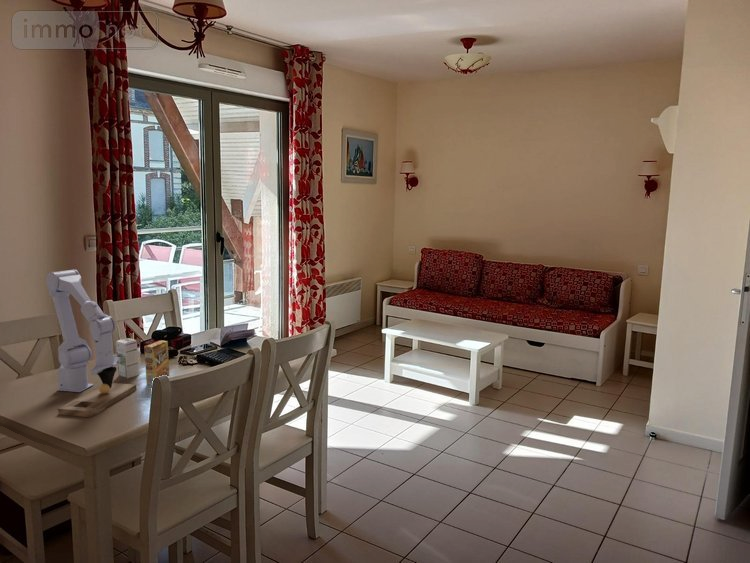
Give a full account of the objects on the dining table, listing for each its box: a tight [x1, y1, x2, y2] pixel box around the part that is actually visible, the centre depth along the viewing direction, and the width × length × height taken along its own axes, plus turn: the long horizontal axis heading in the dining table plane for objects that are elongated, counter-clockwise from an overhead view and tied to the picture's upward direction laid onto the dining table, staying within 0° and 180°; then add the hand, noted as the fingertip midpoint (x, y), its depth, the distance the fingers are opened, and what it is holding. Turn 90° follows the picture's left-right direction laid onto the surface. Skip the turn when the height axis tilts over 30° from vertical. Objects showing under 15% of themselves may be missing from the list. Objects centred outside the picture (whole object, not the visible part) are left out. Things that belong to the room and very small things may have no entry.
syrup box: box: [115, 337, 140, 379], centre depth 232 cm, size 6×6×14 cm
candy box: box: [144, 339, 170, 386], centre depth 225 cm, size 9×4×15 cm, turn 162°
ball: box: [98, 383, 110, 394], centre depth 208 cm, size 4×4×4 cm
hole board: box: [57, 382, 137, 418], centre depth 206 cm, size 12×26×2 cm, turn 170°
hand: (107, 388), depth 209 cm, fingers closed, pressing on ball
